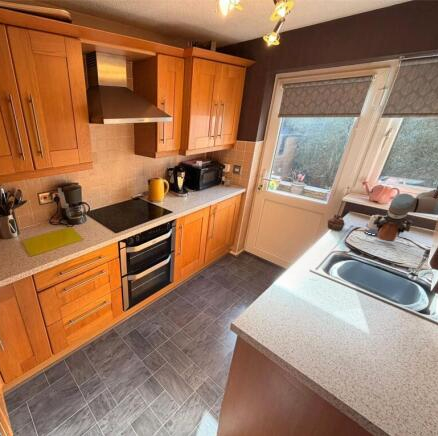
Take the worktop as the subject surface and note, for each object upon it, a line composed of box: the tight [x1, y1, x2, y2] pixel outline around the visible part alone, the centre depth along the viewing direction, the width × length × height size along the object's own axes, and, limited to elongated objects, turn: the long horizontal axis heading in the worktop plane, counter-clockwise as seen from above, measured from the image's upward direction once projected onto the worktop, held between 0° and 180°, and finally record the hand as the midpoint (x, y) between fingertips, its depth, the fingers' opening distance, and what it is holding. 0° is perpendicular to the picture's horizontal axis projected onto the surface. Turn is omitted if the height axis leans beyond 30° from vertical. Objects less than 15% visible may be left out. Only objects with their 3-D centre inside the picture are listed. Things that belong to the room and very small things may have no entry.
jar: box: [376, 222, 400, 242], centre depth 140 cm, size 8×8×12 cm
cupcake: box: [327, 214, 346, 232], centre depth 162 cm, size 10×10×10 cm
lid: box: [363, 228, 379, 238], centre depth 155 cm, size 8×8×2 cm
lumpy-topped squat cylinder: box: [367, 214, 384, 231], centre depth 162 cm, size 10×13×9 cm
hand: (388, 231), depth 143 cm, fingers closed on jar, 8 cm apart
